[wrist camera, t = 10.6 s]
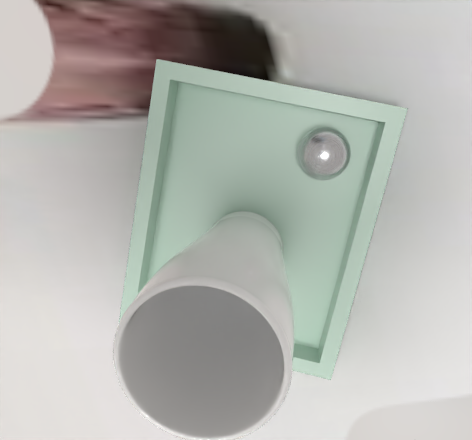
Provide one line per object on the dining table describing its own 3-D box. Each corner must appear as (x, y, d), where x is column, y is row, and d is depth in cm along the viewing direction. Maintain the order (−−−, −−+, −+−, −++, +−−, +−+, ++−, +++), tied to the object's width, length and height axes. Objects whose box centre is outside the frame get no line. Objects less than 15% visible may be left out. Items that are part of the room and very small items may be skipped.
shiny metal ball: (303, 122, 28) (304, 122, 25) (353, 132, 28) (360, 133, 25) (292, 171, 29) (291, 177, 26) (340, 181, 29) (346, 189, 25)
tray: (168, 64, 29) (156, 59, 26) (398, 109, 28) (407, 108, 25) (131, 311, 33) (118, 326, 31) (328, 360, 32) (330, 380, 30)
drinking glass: (290, 194, 29) (287, 270, 15) (298, 291, 31) (301, 447, 16) (190, 202, 30) (94, 281, 16) (202, 295, 32) (124, 446, 17)
